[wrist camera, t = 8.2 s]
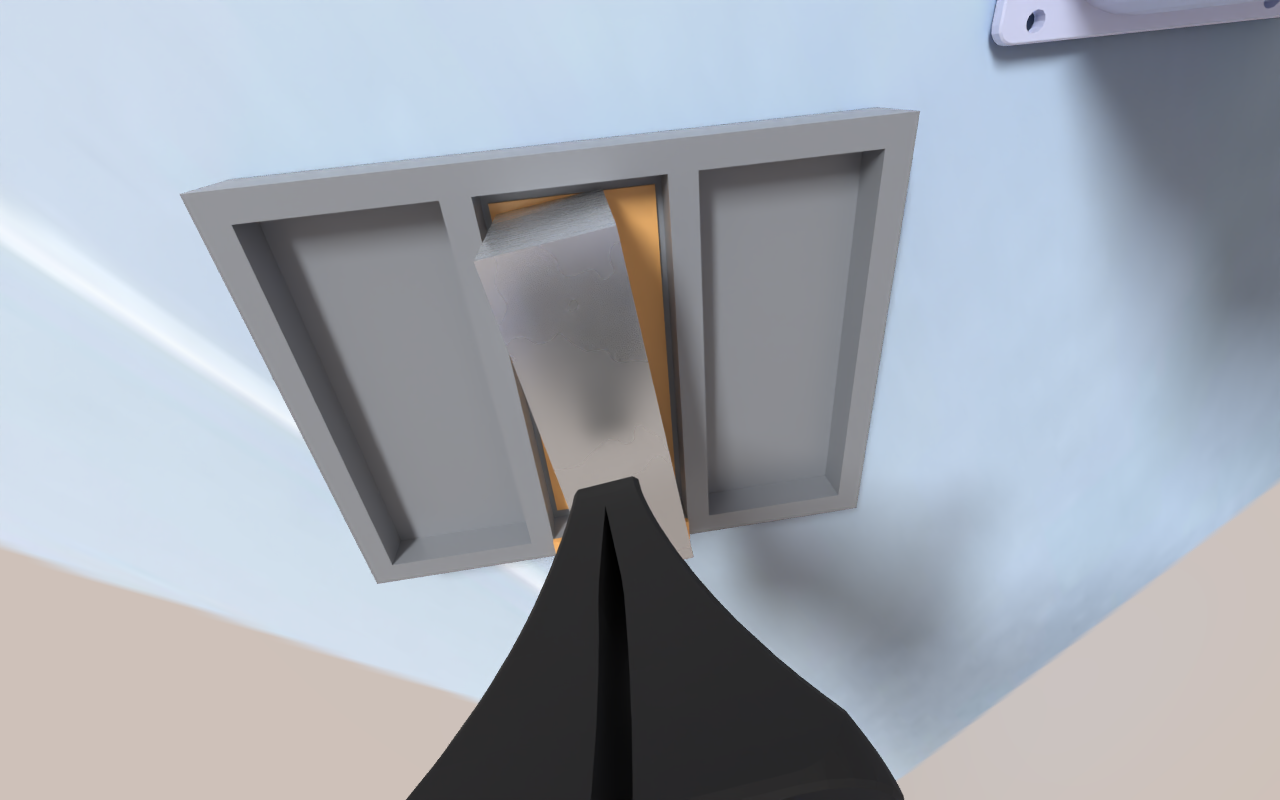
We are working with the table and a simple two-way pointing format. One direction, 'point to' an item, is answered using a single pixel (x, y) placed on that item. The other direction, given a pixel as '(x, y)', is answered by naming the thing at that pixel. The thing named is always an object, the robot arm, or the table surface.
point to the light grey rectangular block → (580, 349)
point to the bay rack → (665, 304)
